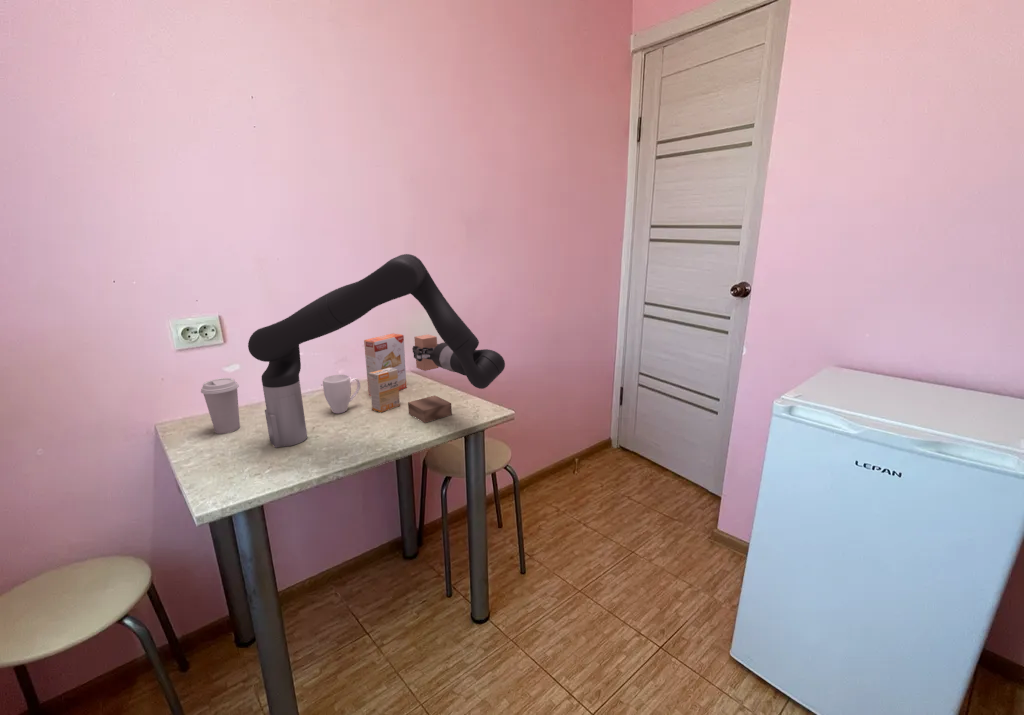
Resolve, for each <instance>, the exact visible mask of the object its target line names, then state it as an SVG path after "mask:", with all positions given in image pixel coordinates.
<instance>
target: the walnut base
mask: <svg viewBox="0 0 1024 715" xmlns="http://www.w3.org/2000/svg"><path fill="white" fill-rule="evenodd" d="M407 406H408V408H407V409H408V415H410V416H412V417H413V416H414V417H413V418H415V417H416V418H415V419H417V420H418V419H419V420H418V421H420V422H422V423H424V424H426V423H428V422H429V423H430V422H432V420H433V421H436V420H440V419H442V418H447V417H449V416H452V413H453V412H452V402H450V401H448V400H445V399H443V398H441V397H439V396H437V395H435V394H433V395H430V396H428V397H424V398H419V399H416V400H411V401H408V402H407ZM425 422H426V423H425Z"/></svg>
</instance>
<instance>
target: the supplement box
mask: <svg viewBox="0 0 1024 715" xmlns="http://www.w3.org/2000/svg"><path fill="white" fill-rule="evenodd" d="M369 378H370V389H371V396H370V398H371V409H372V411H374V410H375V412H377V411H378V413H380V412H381V413H383V412H386V411H388V409H389V410H391V409H394V408H397V407H399V406H401V404H400V403H401V402H400V390H399V386H398V372H397V369H394V368H386V369H382V370H378V371H374V372H370V373H369Z"/></svg>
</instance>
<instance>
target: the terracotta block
mask: <svg viewBox="0 0 1024 715" xmlns="http://www.w3.org/2000/svg"><path fill="white" fill-rule="evenodd" d="M437 344H438V337H437V336H436V335H432V334H423V335H417V336H414V346H417V347H420V348H424V347H436V346H437ZM422 354H423V351H422ZM415 363H416V364H415V365H416V368H417V369H419V370H421V371H424V372H426V371H430V370H435V369H439V368H440V367H438V366H437V365H436V364H435V363H434V362H433V361H432V360H430V359H424V358H423V360H422V361H418V360H416V359H415Z"/></svg>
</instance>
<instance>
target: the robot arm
mask: <svg viewBox="0 0 1024 715" xmlns="http://www.w3.org/2000/svg"><path fill="white" fill-rule="evenodd" d="M407 295H411V296H413V297H414V298H415V299H416V301H418V302H419V303H420V305H421V306H422V308H423V309H424V310H425V312H426V313H427V314H428V317H429V319H430V321H431V324H433V327H434V328H435V330H436V332H437V334H438V335H439V336H440V338H441V339H442V341H443V342H440V343H437V346H436V347H424V348H420V347H417V346H415V345H413V346H412V354H413V358H414V359H415V361H416V360H418V361H422V360H423V358H424V359H430V360H432V361H433V362H434V363H435V364H436V365H437V366H438V367H439V368H440V369H443V370H446V371H449V372H452V373H457V374H459V375H463V376H466V378H467V380H468V382H469V383H470V384H471V385H472V386H473V387H474V388H477V389H480V390H482V389H483V390H485V389H486V388H488V387H489V386H490V385H491V384H492V383H493V382H494V381H495V379H497V378H498V376H500V374H502V373H503V372H504V370H505V366H506V363H505V359H504V357H503V356H502V355H501V354H500V353H499V352H498V351H496V350H493V349H483V348H482V349H477V348H478V347H479V344H480V341H479V338H477V336H476V335H475V334H474V332H472V329H470V328H469V327H468V325H467V324H466V323H465V322H464V321H463V319H462V318H461V317H460V316H459V315H458V314H457V312H456V311H455V310H454V308H453V307H452V306H451V304H450V303H449V302H448V300H447V299H446V298H445V296H444V295H443V293H442V292H441V290H440V289H439V287H438V286H437V284H436V283H435V281H434V279H433V278H432V275H430V273H429V271H428V269H427V268H426V265H424V263H423V261H422V260H420V258H419V257H417V256H416V255H413V254H410V253H405V254H400V255H398V256H395V257H393V258H391V259H389V260H388V261H387V262H386V263H384V264H383V265H381V266H379V268H377V269H376V270H375V271H373V272H371V273H370V274H368V275H367V276H365V277H363V278H362V279H360V280H358V281H355V282H351V283H350V284H346V285H343V286H340V287H338V288H335V289H333V290H331V291H329V292H327V293H325V294H324V295H322V296H320V297H317V299H315V300H313V301H311V302H310V303H308V304H307V305H305V306H303V307H301V308H300V309H298V310H297V311H295V312H294V313H292V314H291V315H289V316H287V317H285V318H283V319H282V320H279V321H277V322H276V323H272V324H270V325H267V326H263V327H259V328H258V329H256V330H255V331H253V333H251V335H250V337H249V339H248V341H247V342H248V343H247V347H248V351H249V354H250V355H251V356H252V358H254V359H256V360H258V361H261V362H265V363H267V362H268V365H267V366H266V367H267V368H266V369H265V370H264V372H263V373H262V375H261V385H262V389H263V390H262V391H263V395H264V397H263V398H264V402H265V409H264V414H265V420H266V421H265V422H266V426H267V434H268V439H269V442H270V443H271V445H272V446H273V447H274V448H281V447H291V446H295V445H298V444H301V443H302V442H304V441H305V440H306V439H308V430H307V425H306V418H305V417H306V416H305V410H304V404H303V403H304V402H303V396H302V395H303V394H302V389H301V388H302V387H301V382H300V372H301V366H302V365H301V363H302V362H301V353H300V345H301V344H303V343H305V342H308V341H311V340H312V341H313V340H315V339H318V338H320V337H323V336H326V335H329V334H332V333H334V332H337V331H339V330H340V329H343V328H344V327H346V326H348V325H351V324H352V323H354V322H355V321H357V320H359V319H361V318H362V317H363V316H365V315H366V314H368V313H369V312H370V311H372V310H373V309H375V308H377V307H378V306H381V305H383V304H386V303H389V302H391V301H394V300H396V299H400V298H402V297H405V296H407ZM422 351H423V354H422Z"/></svg>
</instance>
